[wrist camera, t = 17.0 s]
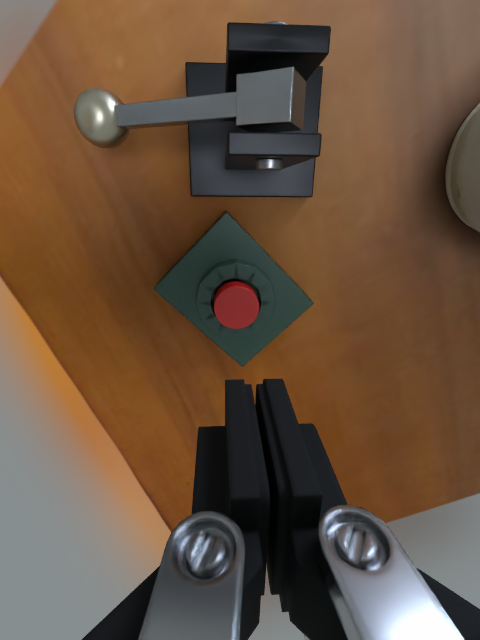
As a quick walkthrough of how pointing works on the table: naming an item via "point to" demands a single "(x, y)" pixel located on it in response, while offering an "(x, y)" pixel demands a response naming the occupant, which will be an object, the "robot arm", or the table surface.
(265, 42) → the bracket
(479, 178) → the jug
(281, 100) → the lever
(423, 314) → the table surface
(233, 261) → the button box
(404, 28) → the table surface
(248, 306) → the button
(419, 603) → the robot arm
